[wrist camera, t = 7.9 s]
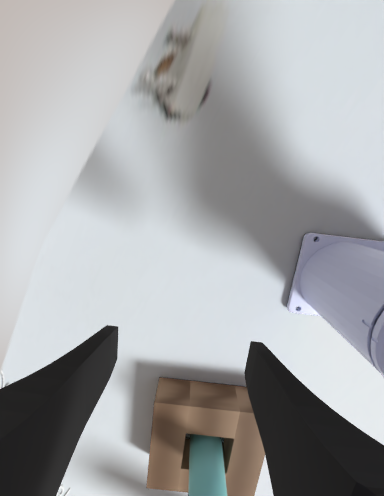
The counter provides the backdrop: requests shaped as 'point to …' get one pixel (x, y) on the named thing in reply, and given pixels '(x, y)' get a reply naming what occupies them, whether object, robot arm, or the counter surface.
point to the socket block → (203, 423)
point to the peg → (206, 466)
